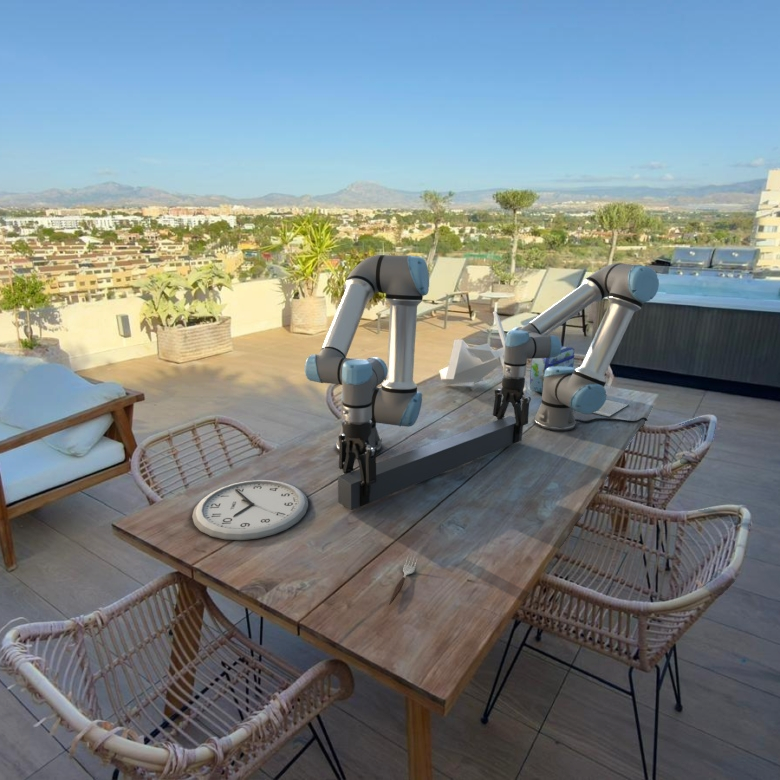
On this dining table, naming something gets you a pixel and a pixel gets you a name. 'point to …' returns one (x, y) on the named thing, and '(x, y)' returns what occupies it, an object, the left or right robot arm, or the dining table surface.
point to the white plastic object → (474, 361)
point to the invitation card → (610, 408)
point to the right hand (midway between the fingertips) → (508, 439)
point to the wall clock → (250, 510)
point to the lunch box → (543, 363)
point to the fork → (407, 571)
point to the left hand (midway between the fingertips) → (357, 499)
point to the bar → (428, 461)
